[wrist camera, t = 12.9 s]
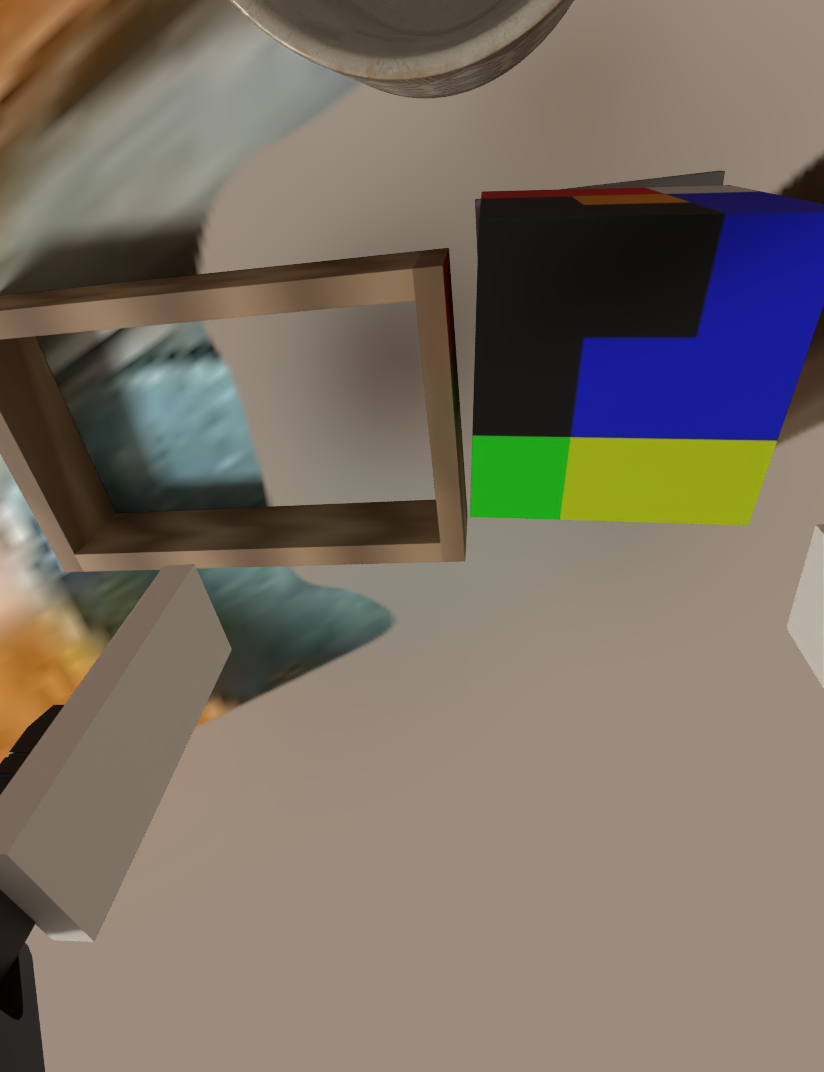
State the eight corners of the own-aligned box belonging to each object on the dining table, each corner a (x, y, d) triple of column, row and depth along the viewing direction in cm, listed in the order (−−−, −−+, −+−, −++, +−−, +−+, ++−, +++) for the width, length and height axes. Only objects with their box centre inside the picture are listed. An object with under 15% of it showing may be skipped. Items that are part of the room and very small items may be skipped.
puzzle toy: (729, 185, 24) (855, 210, 16) (675, 417, 30) (748, 525, 21) (481, 191, 25) (478, 218, 17) (474, 414, 31) (470, 516, 22)
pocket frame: (105, 529, 38) (64, 572, 35) (-5, 296, 30) (-73, 318, 27) (467, 515, 35) (465, 561, 31) (448, 247, 27) (442, 265, 23)
